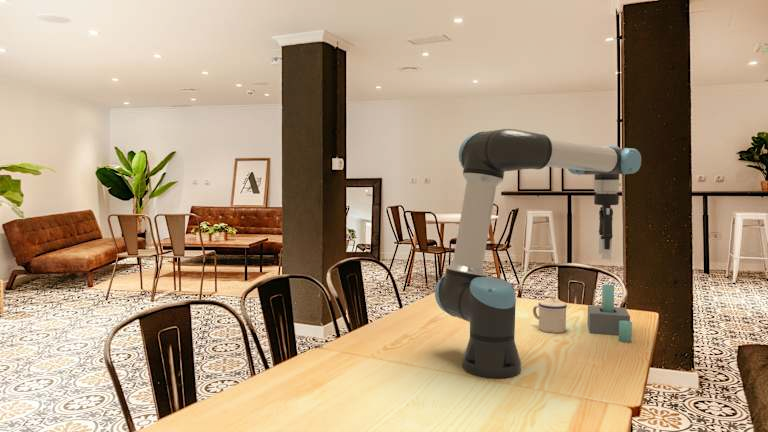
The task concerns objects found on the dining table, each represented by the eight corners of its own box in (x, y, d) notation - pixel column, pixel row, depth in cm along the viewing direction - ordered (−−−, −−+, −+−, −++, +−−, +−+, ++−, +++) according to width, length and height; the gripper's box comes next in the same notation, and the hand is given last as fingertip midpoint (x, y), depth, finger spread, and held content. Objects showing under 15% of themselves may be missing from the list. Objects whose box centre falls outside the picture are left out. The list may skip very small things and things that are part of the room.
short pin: (632, 343, 163) (632, 323, 163) (619, 341, 164) (620, 322, 164) (630, 339, 166) (631, 320, 166) (618, 338, 168) (618, 320, 167)
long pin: (614, 331, 175) (614, 286, 175) (602, 330, 177) (603, 286, 176) (612, 328, 179) (613, 284, 178) (601, 327, 180) (602, 284, 179)
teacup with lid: (571, 330, 177) (572, 295, 177) (556, 335, 171) (557, 299, 171) (540, 322, 186) (541, 290, 186) (525, 327, 181) (525, 293, 180)
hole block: (629, 336, 170) (630, 316, 170) (589, 332, 174) (590, 313, 174) (624, 326, 182) (625, 307, 181) (587, 323, 185) (587, 305, 185)
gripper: (623, 193, 162) (621, 262, 163) (615, 192, 186) (613, 252, 187) (597, 193, 164) (595, 261, 166) (592, 192, 188) (590, 251, 189)
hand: (604, 256), depth 176 cm, fingers open, 13 cm apart
